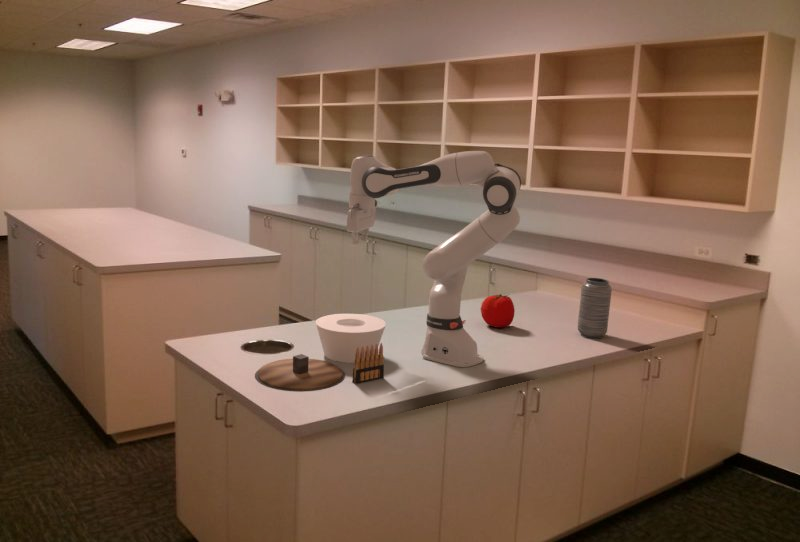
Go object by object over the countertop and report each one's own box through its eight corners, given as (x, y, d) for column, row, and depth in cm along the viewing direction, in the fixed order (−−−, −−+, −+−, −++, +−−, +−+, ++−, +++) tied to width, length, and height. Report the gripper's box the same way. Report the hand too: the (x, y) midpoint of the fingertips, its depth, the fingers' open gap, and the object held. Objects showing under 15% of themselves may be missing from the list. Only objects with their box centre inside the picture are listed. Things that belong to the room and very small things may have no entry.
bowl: (309, 347, 244) (309, 314, 242) (374, 344, 252) (375, 312, 249) (322, 369, 222) (323, 334, 220) (392, 365, 229) (394, 331, 227)
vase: (581, 329, 285) (587, 275, 281) (609, 334, 280) (615, 279, 275) (573, 335, 275) (578, 280, 271) (602, 341, 270) (608, 284, 265)
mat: (363, 378, 216) (363, 376, 216) (293, 400, 195) (293, 398, 195) (305, 356, 234) (306, 354, 234) (236, 374, 214) (236, 372, 213)
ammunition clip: (380, 378, 217) (382, 341, 215) (383, 380, 215) (385, 343, 213) (352, 384, 211) (353, 346, 208) (355, 386, 209) (356, 348, 207)
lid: (359, 376, 215) (359, 358, 214) (294, 396, 196) (294, 377, 195) (305, 356, 232) (306, 339, 231) (241, 373, 213) (241, 354, 212)
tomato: (520, 330, 280) (522, 297, 277) (490, 332, 275) (492, 299, 272) (500, 320, 294) (503, 289, 291) (472, 321, 289) (474, 290, 286)
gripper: (360, 206, 227) (358, 247, 230) (378, 201, 246) (377, 239, 249) (342, 204, 228) (341, 245, 231) (362, 199, 248) (360, 237, 251)
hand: (359, 242), depth 240 cm, fingers open, 8 cm apart
